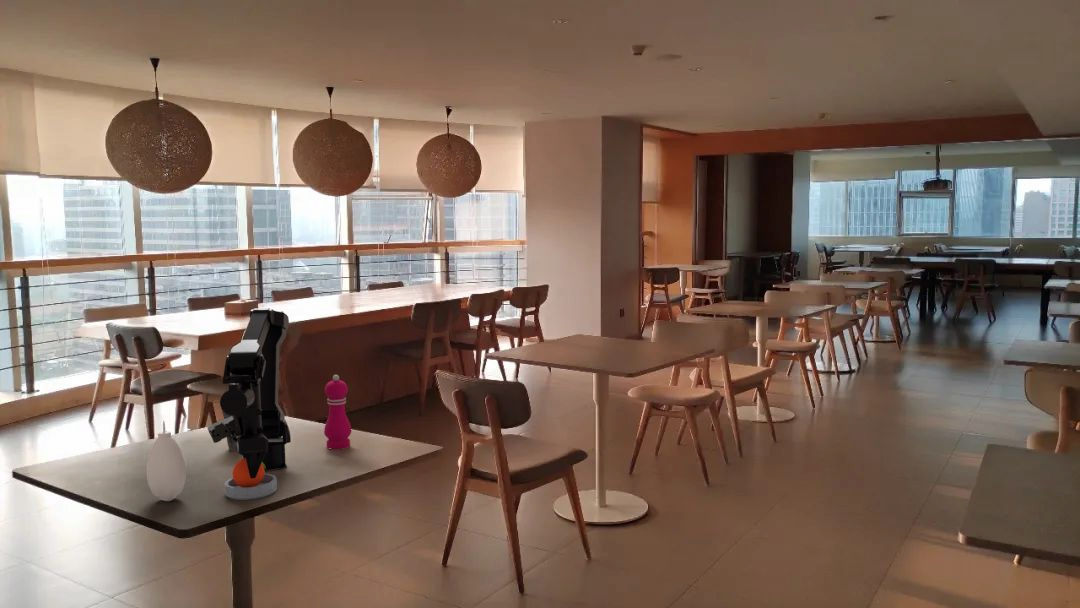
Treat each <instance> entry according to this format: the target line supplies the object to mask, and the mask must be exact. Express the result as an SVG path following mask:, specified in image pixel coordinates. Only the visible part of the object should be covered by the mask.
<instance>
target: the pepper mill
mask: <svg viewBox="0 0 1080 608" xmlns="http://www.w3.org/2000/svg"><path fill="white" fill-rule="evenodd" d="M346 383H347V382H345V381H343V380H341V379H340V376H339V375H338V374H333V376H332V380H330V381H329V382H327V383H326V384H325V387H324V393H325V395H326V396H327V397H328V398H327V399H326V400H327V404H328V407H329V410H328V411H329V412H328V416H327V420H326V423H325V424H324V429H323V430H324V431H323V433H324V436H325V437H326V439H327V440H326V448H327V449H328V448H331V449H330V450H332V449H339V450H344V449H343V448H345V449H348V448H350V446H351V439H350V438H349V437H350V436H351V434H352V426H351V425H352V424H351V422H350V420H349V419H348V416H347V414H346V403H347V397H346V396H347V393H348V392H349V391H348V389H349V388H348V385H347V384H346ZM347 447H348V448H347Z"/></svg>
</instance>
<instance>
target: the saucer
mask: <svg viewBox="0 0 1080 608" xmlns="http://www.w3.org/2000/svg"><path fill="white" fill-rule="evenodd" d="M277 487H278V479H277V477H276V475H275V474H271V473H267V472H265V473H264V477H263V479H262V481H261V482H260V483H259V484H258V485H257V486H255V487H248V488H244V487H240V486H238V485H237V484H236V483H235V481H234V479H233V477H231V478H229V479H228V480H226V481H225V482H224V491H225V497H226V498H228V499H231V500H236V501H237V500H238V501H248V500H256V499H262V498H264V497H268V496H271V495H273V494H274V493H275V492H276V491H277Z"/></svg>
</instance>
